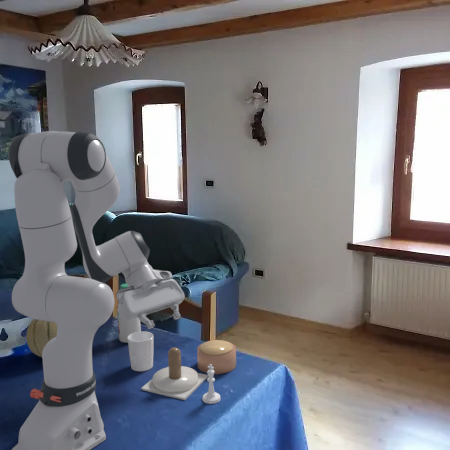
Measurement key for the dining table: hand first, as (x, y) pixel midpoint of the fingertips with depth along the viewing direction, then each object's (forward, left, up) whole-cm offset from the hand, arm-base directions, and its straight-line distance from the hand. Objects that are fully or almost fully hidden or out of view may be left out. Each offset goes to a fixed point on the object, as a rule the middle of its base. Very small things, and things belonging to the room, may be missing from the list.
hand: (165, 322), depth 139 cm
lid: (-1, -3, -17) cm, 17 cm away
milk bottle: (+20, +27, -18) cm, 38 cm away
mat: (-1, -4, -17) cm, 18 cm away
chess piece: (-5, -17, -18) cm, 25 cm away
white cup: (+4, +11, -18) cm, 21 cm away
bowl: (+14, -10, -17) cm, 24 cm away
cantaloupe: (-1, +43, -18) cm, 47 cm away
